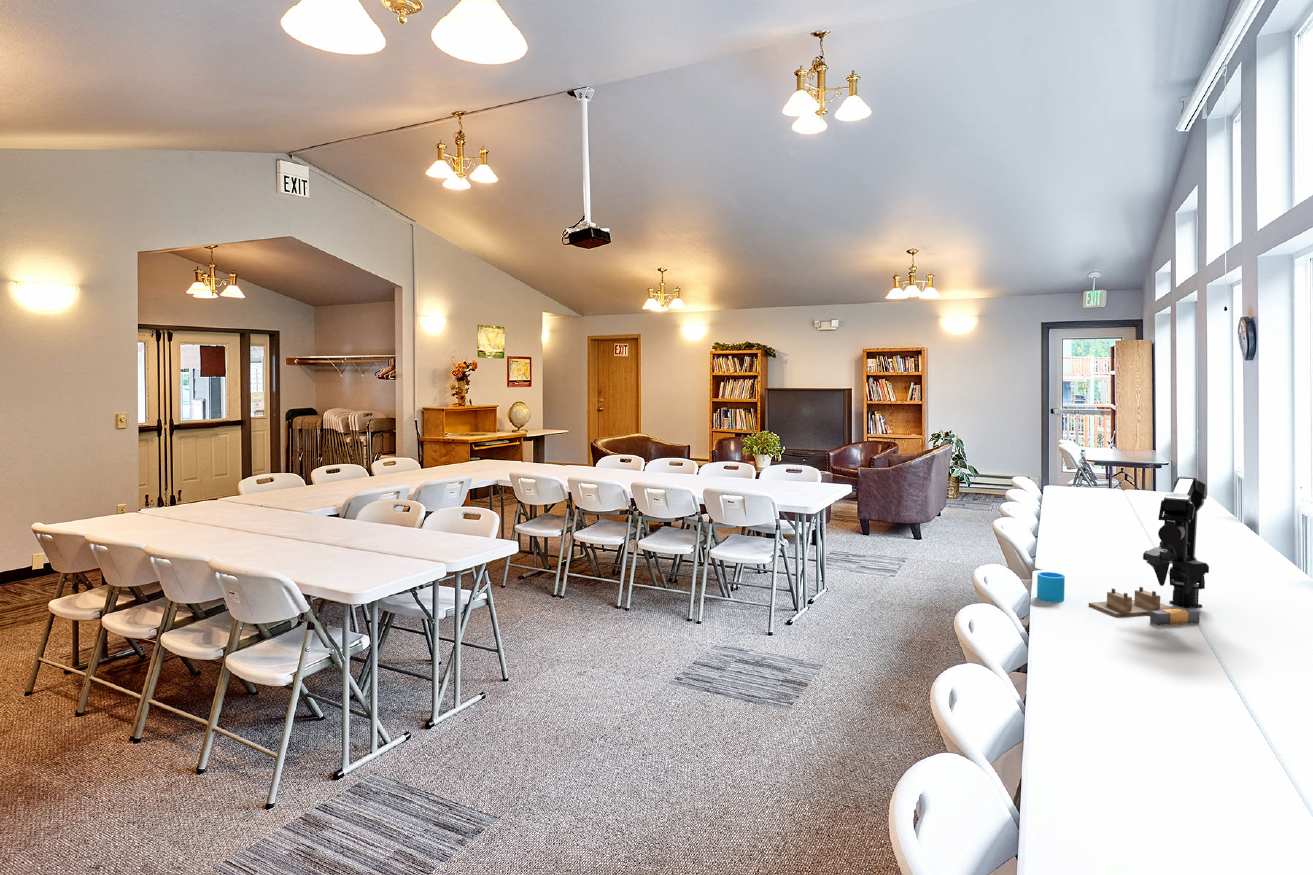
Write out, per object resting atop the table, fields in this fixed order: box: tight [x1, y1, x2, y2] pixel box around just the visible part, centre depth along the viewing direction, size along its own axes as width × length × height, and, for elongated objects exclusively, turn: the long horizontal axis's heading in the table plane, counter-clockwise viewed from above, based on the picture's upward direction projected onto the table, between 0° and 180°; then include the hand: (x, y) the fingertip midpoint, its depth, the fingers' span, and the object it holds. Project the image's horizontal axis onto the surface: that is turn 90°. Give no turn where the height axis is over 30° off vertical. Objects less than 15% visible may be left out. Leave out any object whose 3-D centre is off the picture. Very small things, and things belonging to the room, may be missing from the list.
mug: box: [1036, 571, 1066, 603], centre depth 255 cm, size 12×8×8 cm
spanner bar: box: [1149, 608, 1201, 626], centre depth 227 cm, size 14×3×4 cm, turn 98°
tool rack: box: [1088, 586, 1177, 618], centre depth 241 cm, size 22×12×6 cm, turn 98°
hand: (1173, 589), depth 227 cm, fingers open, 9 cm apart
